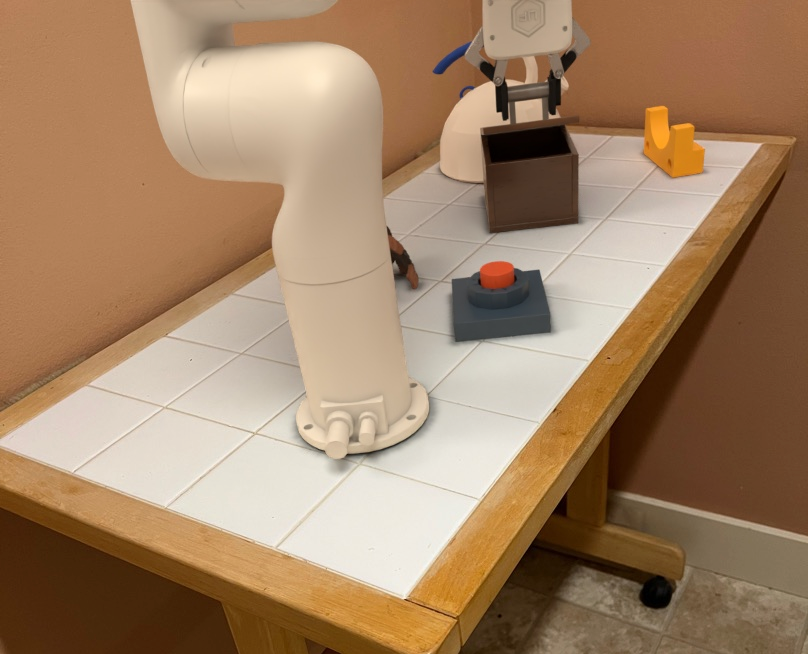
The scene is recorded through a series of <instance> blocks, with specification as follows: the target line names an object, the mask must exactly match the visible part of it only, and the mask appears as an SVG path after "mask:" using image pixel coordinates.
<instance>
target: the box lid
mask: <svg viewBox="0 0 808 654" xmlns="http://www.w3.org/2000/svg"><path fill="white" fill-rule="evenodd" d="M545 81H546V80H545ZM545 81H539V82H537V83H531V84H524V85H516V86H509V87H508V103H509V112H510V124H506V125H498V126H491V127H483V128H480V134H483V135H485V134H493V133H501V132H509V131H517V130H525V129H532V128H540V127H548V126H556V125H564V124H565V125H571V124H579V123H580V115H571V116H570V115H569V116H563V117H562V116H560V117H561V118H553V119H549V111H548V98H549V82H548V81H546V82H545ZM534 99H542V117H543V120H537V121H530V122H522V123H516V111H515V102H519V101H527V100H534Z"/></svg>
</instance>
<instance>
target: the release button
mask: <svg viewBox="0 0 808 654" xmlns="http://www.w3.org/2000/svg"><path fill="white" fill-rule="evenodd" d="M514 268H515V267H514V265H513V263H511V262H508V261H503V260H496V261H490V262H487V263H485V264H482V266H480V268H479V271H480V280H481V286H482V287H484V288H490V289H498V288H505V287H508V286H510V285H513V284H514Z"/></svg>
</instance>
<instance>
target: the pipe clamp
mask: <svg viewBox="0 0 808 654" xmlns="http://www.w3.org/2000/svg"><path fill="white" fill-rule="evenodd" d="M644 120H645V121H644V122H645V123H644V139H643V155H645V156H646V157H647V158H648V159H649V160H650V161H652V162H653V163H654V164H655V165H656V166H657V167H659V168H660V169H661V170H663V171H664V172H665V174H667V175H668V176H670V178H672V179H674V178H680V177H684V176H690V175H696V174H703V173H704V164H705V163H704V162H705V153H706V148H705V147H703V146H702V145H700V144H699V143H697V141H694V140H695V139H694V138H695V128H696V127H695V125H693V124H692V123H690V122H686V123H680V124H675V125H670V126H669V108H667V107H666V106H664V105H659V106H653V107H646V108H645V119H644ZM669 127H670V128H669Z"/></svg>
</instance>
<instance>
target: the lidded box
mask: <svg viewBox="0 0 808 654" xmlns="http://www.w3.org/2000/svg"><path fill="white" fill-rule="evenodd" d="M481 150H482V165H483V180H484V183H483V193H484V203H485V210H486V217H487V224H488V231H489V234H493V233H502V232H503V233H504V232H511V231H519V230H528V229H535V228H537V229H538V228H545V227H546V228H547V227H553V226H563V225H572V224H578V223H579V182H580V181H579V179H580V178H579V172H580V171H579V170H580V169H579V168H580V164H579V163H580V161H579V159H580V155H579V152H578V149H577V148H576V145H575V143H574V141H573V139H572V137H571V134H570V132H569V130H568V128H567V126H566V124H564V125H556V126H548V127H540V128H532V129H525V130H517V131H509V132H501V133H493V134H485V135H483V134H481Z"/></svg>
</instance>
